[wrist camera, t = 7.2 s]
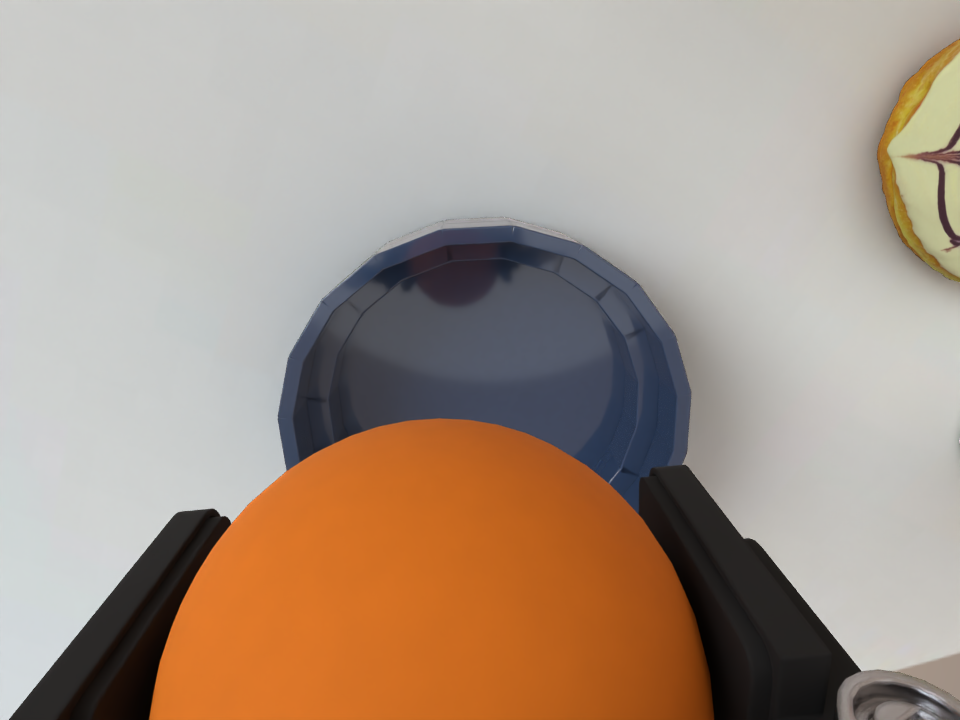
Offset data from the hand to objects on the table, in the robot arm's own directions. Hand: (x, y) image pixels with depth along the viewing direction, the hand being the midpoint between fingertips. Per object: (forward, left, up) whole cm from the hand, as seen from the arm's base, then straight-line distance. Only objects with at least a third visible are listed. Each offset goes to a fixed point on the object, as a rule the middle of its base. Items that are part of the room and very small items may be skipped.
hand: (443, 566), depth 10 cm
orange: (0, 0, -2) cm, 2 cm away
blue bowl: (+2, -3, -17) cm, 18 cm away
